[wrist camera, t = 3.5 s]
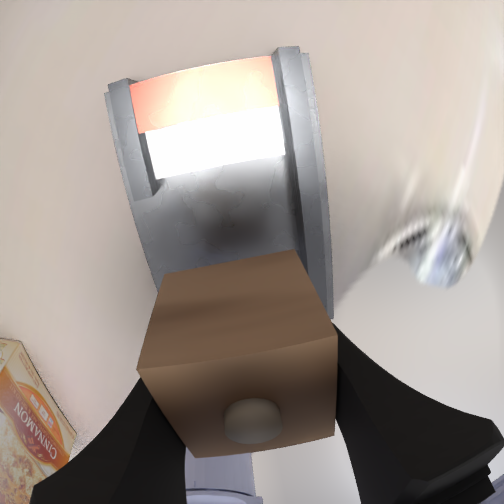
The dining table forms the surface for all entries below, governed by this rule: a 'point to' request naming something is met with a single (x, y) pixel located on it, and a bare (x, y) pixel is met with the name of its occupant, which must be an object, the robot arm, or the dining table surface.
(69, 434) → the coffeecake box
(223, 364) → the wooden block
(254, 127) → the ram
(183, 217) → the grey tray
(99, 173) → the dining table surface
